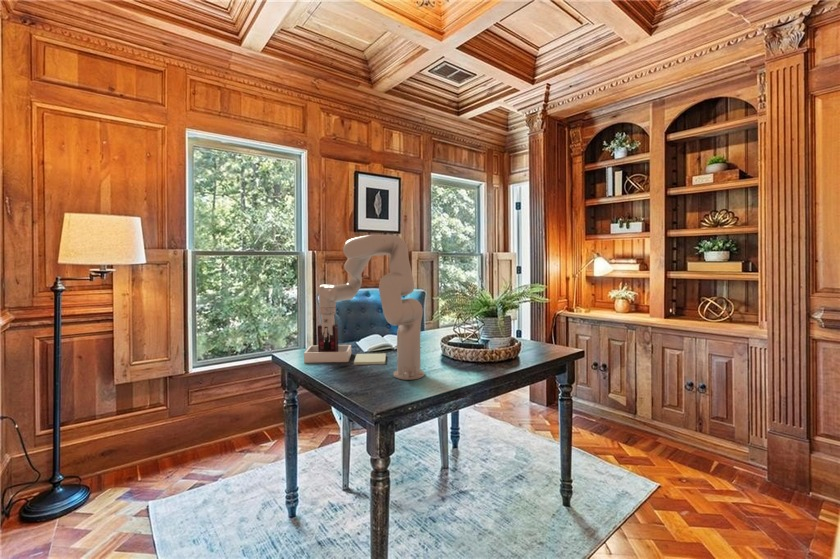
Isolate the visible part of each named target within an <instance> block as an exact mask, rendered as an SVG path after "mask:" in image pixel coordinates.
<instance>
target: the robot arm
mask: <svg viewBox="0 0 840 559" xmlns="http://www.w3.org/2000/svg"><path fill="white" fill-rule="evenodd" d="M343 254H344V256H345V258H347V259H346V261H345V263H344V265H343V268H344V270H345V271H346V272H347V274H349V275H350V278H349V279H348V281H347V282H346V283H344V284H343V283H342V284H341V283H340V284H332V283H330V284H329V283H327V284H326V283H325V284H324V283H323V284H320V285H319V287H318V305H319V310H318V311H319V316H320V315H321V324H322V335H323V336H324V350H331V342H330V335H331V336H332V335H333V326H334V325H336V324H335V322H336V321H335V319H336V318H335V314H336V313H337V308H336V307H337V306H336V305H337V304H336V303H338V302H343V301H349V300H351V299H354V297H356V295H357V294H358V292H359V291H360V290H361V287H362V283H363V277H362V276H363V275H362V274H363V272H364V270H365V268H366V267H367V265H368V264H369V262H370V260H371V259H372V257H373V256H374V257H375V256H389V259H388V268H389V273H387V274H385V275H383V276H382V277H381V278H380V280H379V283H378V284H379V285H378V292H379V297H380V302H381V307H382V312H383V315H384V319H385V320H386V322H387V323H388V324H390V325H391V326H397V332H396V355H397V356H396V364H397V365H396V367H397V368H396V370H395V371H393V377H394V378H396V379H398V380H405V381H410V380H411V381H412V380H418V379H422V378H423V377H424V376H425V372H424V370H423V369H421V327H422V320H423V311H424V309H423V305H422V303H421V302H420V301H419V300H417V299H415V298H404V299H402V297H403V296H407V295H411V294H412V293H413V292H414V290H415V283H414V282H415V281H414V278H413V273H412V267H411V264H410V258H409V256H410V255H409V249H408V245H407V243H406V242H405V240H404V239H403V238H402V237H400V236H397V235H394V234H376V233H375V234H365V235H362V236H357V237H353V238H350V239H348V240H346V241H345V244H344V246H343ZM323 333H324V334H323ZM327 334H329V335H327ZM328 337H329V338H328Z"/></svg>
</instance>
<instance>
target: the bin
mask: <svg viewBox="0 0 840 559" xmlns="http://www.w3.org/2000/svg"><path fill="white" fill-rule="evenodd" d="M351 355H352V344H338V352H318V344H317V345H309V346H308V348H306V350H305V351H304V352H303V363H306V364H307V363H310V364H311V363H349V361H350V359H351Z"/></svg>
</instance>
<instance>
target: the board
mask: <svg viewBox="0 0 840 559" xmlns="http://www.w3.org/2000/svg"><path fill="white" fill-rule="evenodd" d="M386 355H387V353H386V352H385V353H384V352H383V353H357V354H355V358H354V360H353V365H354V366H358V365H359V366H361V365H385V364H386V357H387V356H386Z"/></svg>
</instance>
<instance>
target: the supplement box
mask: <svg viewBox="0 0 840 559" xmlns="http://www.w3.org/2000/svg"><path fill="white" fill-rule="evenodd" d="M323 334H324V333H323ZM327 335H329V334H327ZM328 338H329V337H328ZM330 342H331V350H324V336H323V335H322V323H321V324H319V325H317V345H318V352H338V345H339V326H338V324H335V325H334V326H333V335H332V336H331V335H330Z"/></svg>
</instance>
